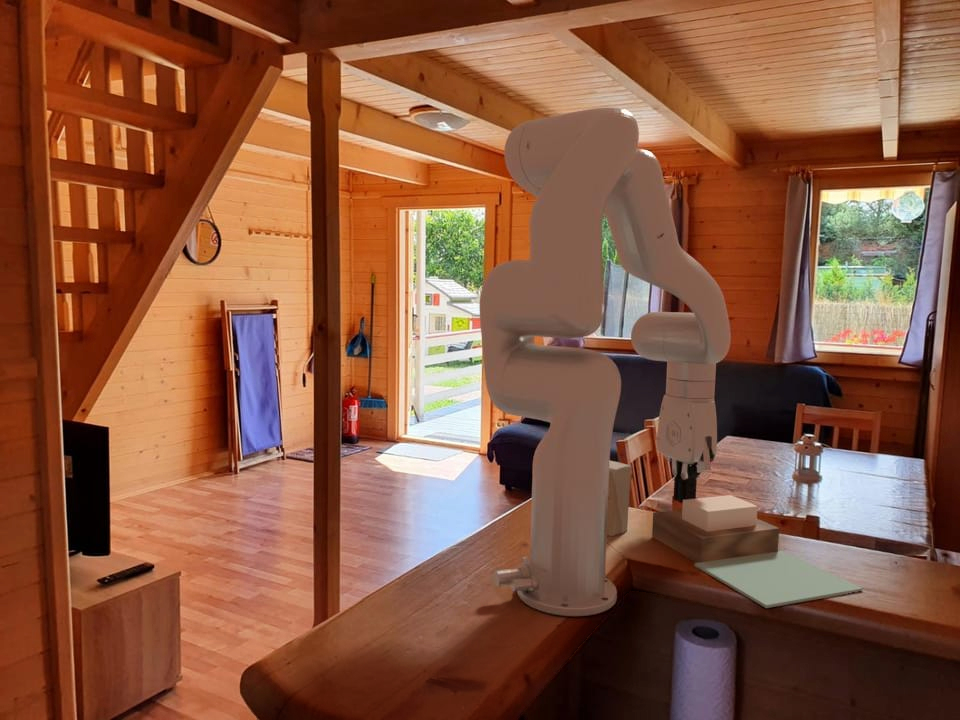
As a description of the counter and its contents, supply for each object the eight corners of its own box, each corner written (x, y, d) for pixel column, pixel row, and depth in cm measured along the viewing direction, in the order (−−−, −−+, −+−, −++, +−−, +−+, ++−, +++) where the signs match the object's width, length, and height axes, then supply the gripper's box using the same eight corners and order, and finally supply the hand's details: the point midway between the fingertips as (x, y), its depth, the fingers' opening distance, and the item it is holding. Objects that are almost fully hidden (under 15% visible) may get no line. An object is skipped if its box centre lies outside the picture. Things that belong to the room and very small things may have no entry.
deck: (700, 565, 101) (701, 538, 100) (652, 537, 112) (653, 512, 112) (777, 554, 106) (779, 528, 105) (723, 528, 117) (725, 504, 116)
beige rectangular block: (707, 531, 103) (708, 511, 103) (681, 518, 109) (682, 499, 108) (756, 525, 106) (757, 506, 106) (729, 513, 112) (730, 495, 112)
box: (587, 528, 115) (589, 462, 114) (603, 523, 118) (605, 458, 117) (613, 537, 111) (616, 468, 110) (629, 531, 114) (632, 464, 113)
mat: (766, 608, 87) (766, 605, 87) (694, 566, 100) (694, 563, 100) (862, 591, 93) (862, 588, 93) (782, 553, 106) (783, 550, 106)
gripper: (643, 384, 119) (639, 490, 121) (700, 397, 105) (694, 517, 107) (680, 383, 122) (675, 486, 124) (741, 395, 108) (734, 512, 110)
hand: (684, 500), depth 115 cm, fingers closed
